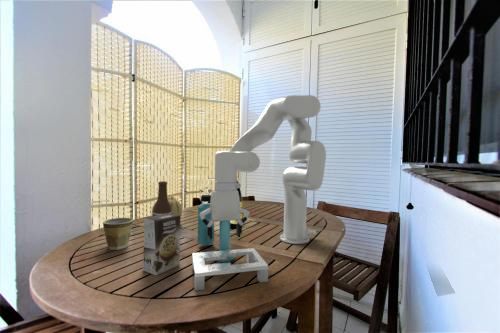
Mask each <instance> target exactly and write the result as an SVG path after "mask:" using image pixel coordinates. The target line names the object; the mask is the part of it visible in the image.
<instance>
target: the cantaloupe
mask: <svg viewBox="0 0 500 333" xmlns="http://www.w3.org/2000/svg"><path fill="white" fill-rule="evenodd" d="M167 198H168V201H169V203H170V204H171V207H172V214H176V215H181V216H180V218H182V213H183V207H182V204H181V203H180V202H179V200H178V199H176V198H175V196H173V195H172V196H167ZM156 202H157V200H156V201H155V202H154V203H153V205H152V208H151V212H150V213H151V216H153V207H154V205H155V203H156Z"/></svg>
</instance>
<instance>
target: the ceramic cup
mask: <svg viewBox="0 0 500 333" xmlns="http://www.w3.org/2000/svg"><path fill="white" fill-rule="evenodd" d="M133 222H134V219H133V218H129V217H116V218H115V217H114V218H110V219H106V220H103V222H102V226H103V231H104V236H105V241H106V245H107V248H108V249H109V250H111V251H112V250H113V251H116V250H117V251H119V250H122V249H125V248H127V247H128V246H129V244H130V237H131V231H132V228H133V224H134V223H133Z"/></svg>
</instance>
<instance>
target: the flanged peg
mask: <svg viewBox="0 0 500 333" xmlns="http://www.w3.org/2000/svg"><path fill="white" fill-rule="evenodd" d="M218 238H219V240H218V241H219V242H218V243H219V244H218V251H225V250H231V249H230V248H231V221H219V236H218ZM234 259H235V256H231V257H227V259H222V260H215V261H216V262H217V263H218V262H219V263H231V262H232V261H234Z"/></svg>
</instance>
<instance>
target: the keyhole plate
mask: <svg viewBox="0 0 500 333" xmlns="http://www.w3.org/2000/svg"><path fill="white" fill-rule="evenodd" d="M231 256H234V257H239V256H240V257H241V256H246V263H239V264H238V263H236V264H232V263H231V262H219V263H212V264H206V263H205V262H208V261H210V262H211V261H216V260H222V259H227V257H231ZM191 257H192V258H191V262H192V263H191V264H192V265H191V267H192V272H193V271H194V282H193V283H194V291H202V290H203V291H204V290H205V277H207V276H217V275H226V274H236V273H245V272H254V271H255V272H256V271H257V272H256V276H257V277H256V279H257V281H258V282H259V283H268V282H269V265H268V264H267V262H266V261H265V260H264V258H263V257H262V256H261V255H260V253H259V252H258V251H257V250H256V249H255V248H254V247H253V248H251V247H250V248H241V249H240V248H239V249H230V250H225V251H219V250H214V251H204V252H192V256H191Z"/></svg>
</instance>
